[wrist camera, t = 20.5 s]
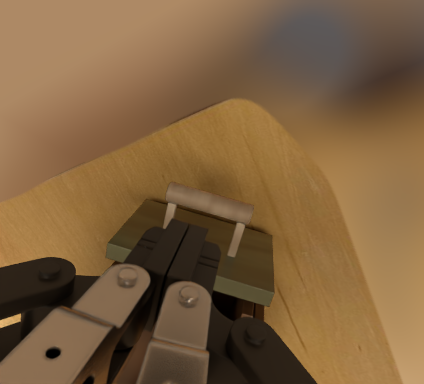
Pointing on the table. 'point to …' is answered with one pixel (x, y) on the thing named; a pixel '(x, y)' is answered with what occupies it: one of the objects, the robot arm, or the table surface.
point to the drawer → (217, 233)
